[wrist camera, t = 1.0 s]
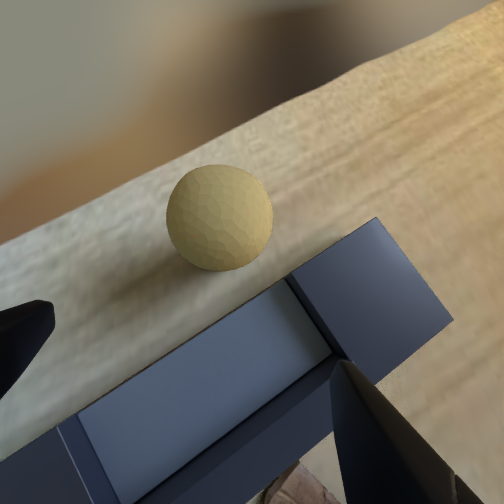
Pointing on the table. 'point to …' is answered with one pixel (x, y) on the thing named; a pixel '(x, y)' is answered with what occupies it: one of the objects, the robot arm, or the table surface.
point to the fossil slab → (298, 488)
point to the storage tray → (237, 388)
